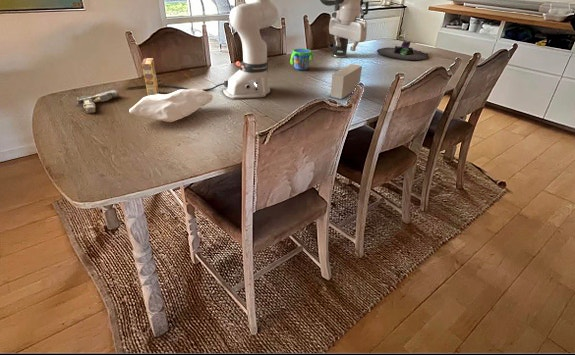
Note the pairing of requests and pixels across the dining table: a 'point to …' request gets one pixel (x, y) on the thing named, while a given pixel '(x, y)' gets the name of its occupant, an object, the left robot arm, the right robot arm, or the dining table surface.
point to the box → (345, 81)
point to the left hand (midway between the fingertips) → (345, 48)
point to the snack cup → (301, 58)
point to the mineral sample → (403, 52)
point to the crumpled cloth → (171, 104)
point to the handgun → (95, 100)
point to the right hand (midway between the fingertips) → (352, 22)
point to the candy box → (150, 76)
